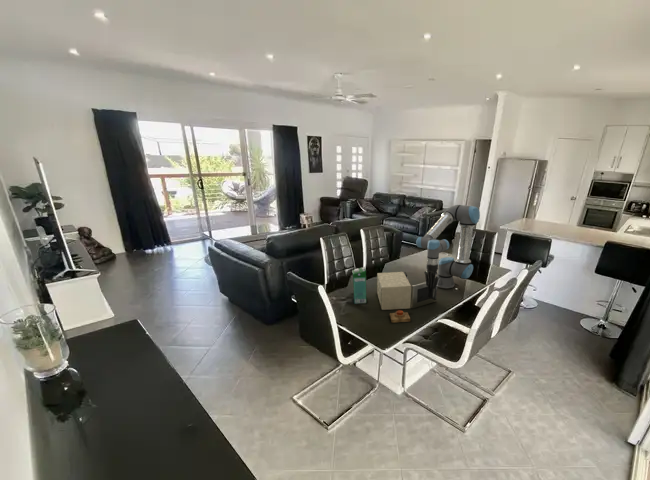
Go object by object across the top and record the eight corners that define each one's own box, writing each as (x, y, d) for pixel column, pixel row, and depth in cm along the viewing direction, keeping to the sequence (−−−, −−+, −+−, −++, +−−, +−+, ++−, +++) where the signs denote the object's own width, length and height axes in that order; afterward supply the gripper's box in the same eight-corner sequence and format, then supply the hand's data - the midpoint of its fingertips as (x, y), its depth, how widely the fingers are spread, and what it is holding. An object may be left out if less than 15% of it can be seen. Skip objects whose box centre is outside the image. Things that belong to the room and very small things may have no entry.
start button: (402, 312, 210) (402, 309, 209) (403, 315, 206) (403, 312, 206) (396, 312, 210) (396, 310, 209) (397, 315, 206) (397, 313, 205)
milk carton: (353, 298, 240) (352, 266, 230) (365, 297, 240) (365, 266, 231) (354, 303, 231) (352, 271, 222) (366, 303, 232) (365, 270, 223)
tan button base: (407, 315, 214) (407, 309, 213) (410, 321, 206) (410, 316, 204) (389, 316, 213) (389, 310, 211) (391, 322, 205) (391, 317, 203)
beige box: (406, 292, 249) (406, 271, 243) (413, 308, 223) (414, 285, 217) (377, 293, 247) (377, 273, 241) (381, 310, 221) (381, 287, 215)
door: (438, 303, 229) (440, 281, 223) (415, 310, 220) (416, 288, 213) (433, 300, 234) (435, 279, 227) (411, 307, 224) (411, 285, 218)
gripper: (421, 262, 213) (420, 294, 222) (434, 267, 203) (432, 301, 212) (430, 260, 217) (428, 292, 226) (443, 265, 206) (441, 298, 215)
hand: (430, 296), depth 219 cm, fingers closed
